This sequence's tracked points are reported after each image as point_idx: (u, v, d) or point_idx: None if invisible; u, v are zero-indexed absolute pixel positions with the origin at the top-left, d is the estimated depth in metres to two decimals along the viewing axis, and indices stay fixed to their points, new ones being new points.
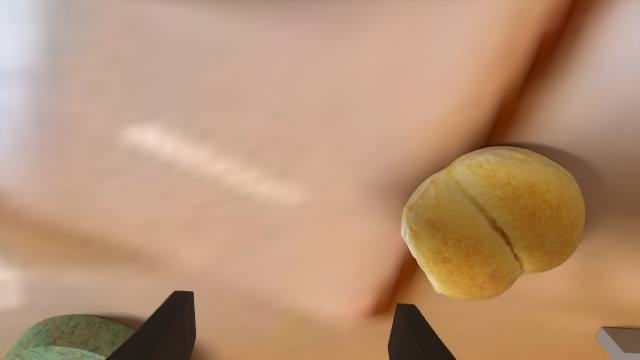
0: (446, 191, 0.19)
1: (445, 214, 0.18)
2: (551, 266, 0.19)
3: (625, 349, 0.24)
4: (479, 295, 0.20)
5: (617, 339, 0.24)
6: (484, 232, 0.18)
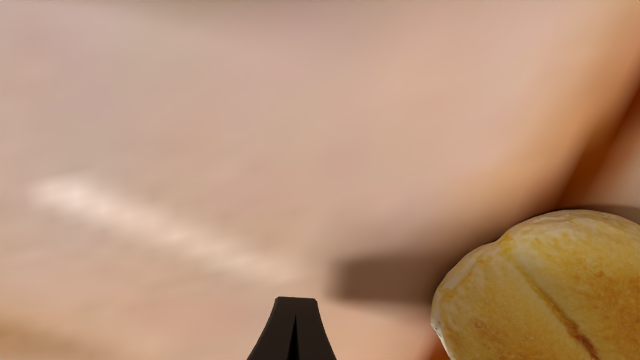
0: (503, 279, 0.13)
1: (502, 316, 0.13)
2: None
3: None
4: None
5: None
6: (560, 343, 0.12)
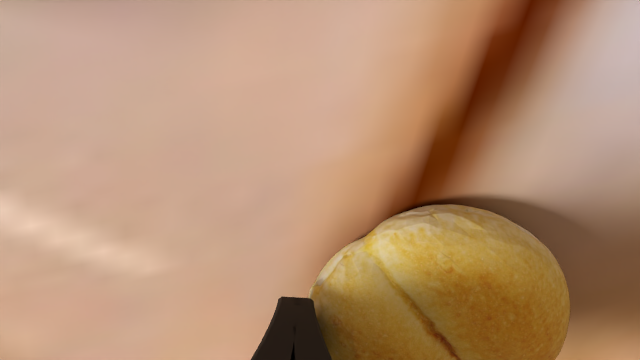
0: (361, 275, 0.12)
1: (357, 313, 0.12)
2: None
3: None
4: None
5: None
6: (415, 341, 0.12)
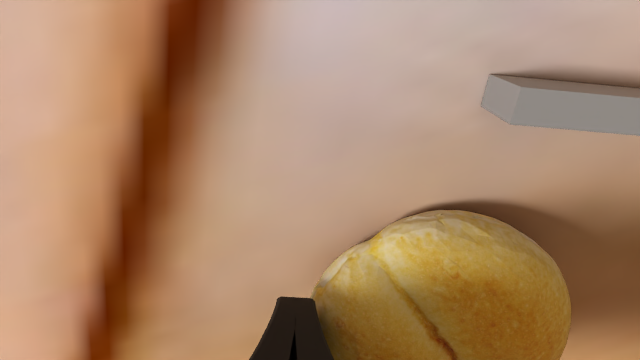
0: (366, 278, 0.12)
1: (361, 316, 0.12)
2: None
3: None
4: None
5: None
6: (418, 346, 0.12)
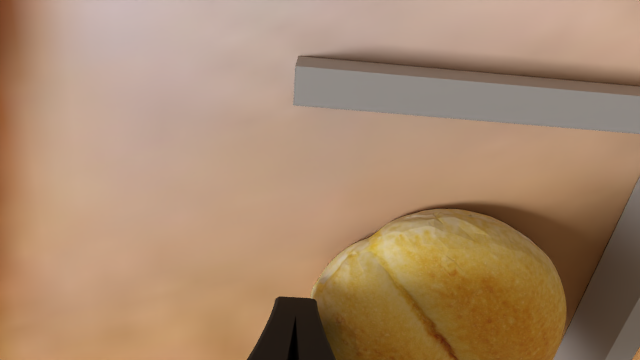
0: (366, 275, 0.13)
1: (360, 311, 0.12)
2: None
3: None
4: None
5: None
6: (417, 341, 0.12)
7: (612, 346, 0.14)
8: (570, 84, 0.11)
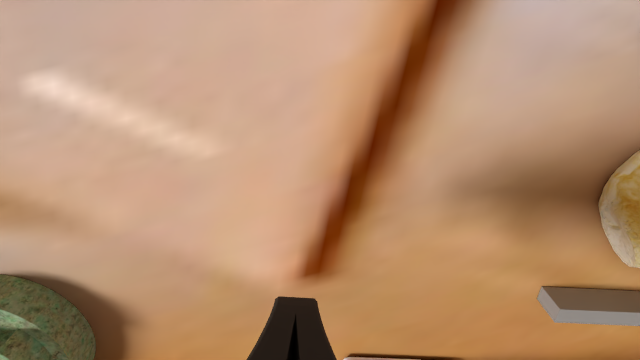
0: None
1: None
2: None
3: (562, 306, 0.23)
4: None
5: (556, 297, 0.23)
6: None
7: None
8: None
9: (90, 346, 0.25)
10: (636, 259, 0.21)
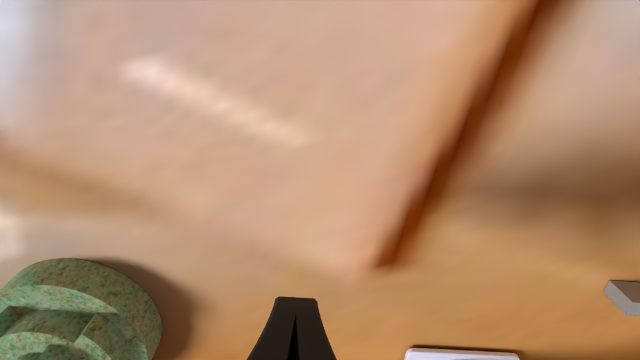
0: None
1: None
2: None
3: (634, 299, 0.23)
4: None
5: (625, 291, 0.24)
6: None
7: None
8: None
9: (158, 332, 0.25)
10: None
